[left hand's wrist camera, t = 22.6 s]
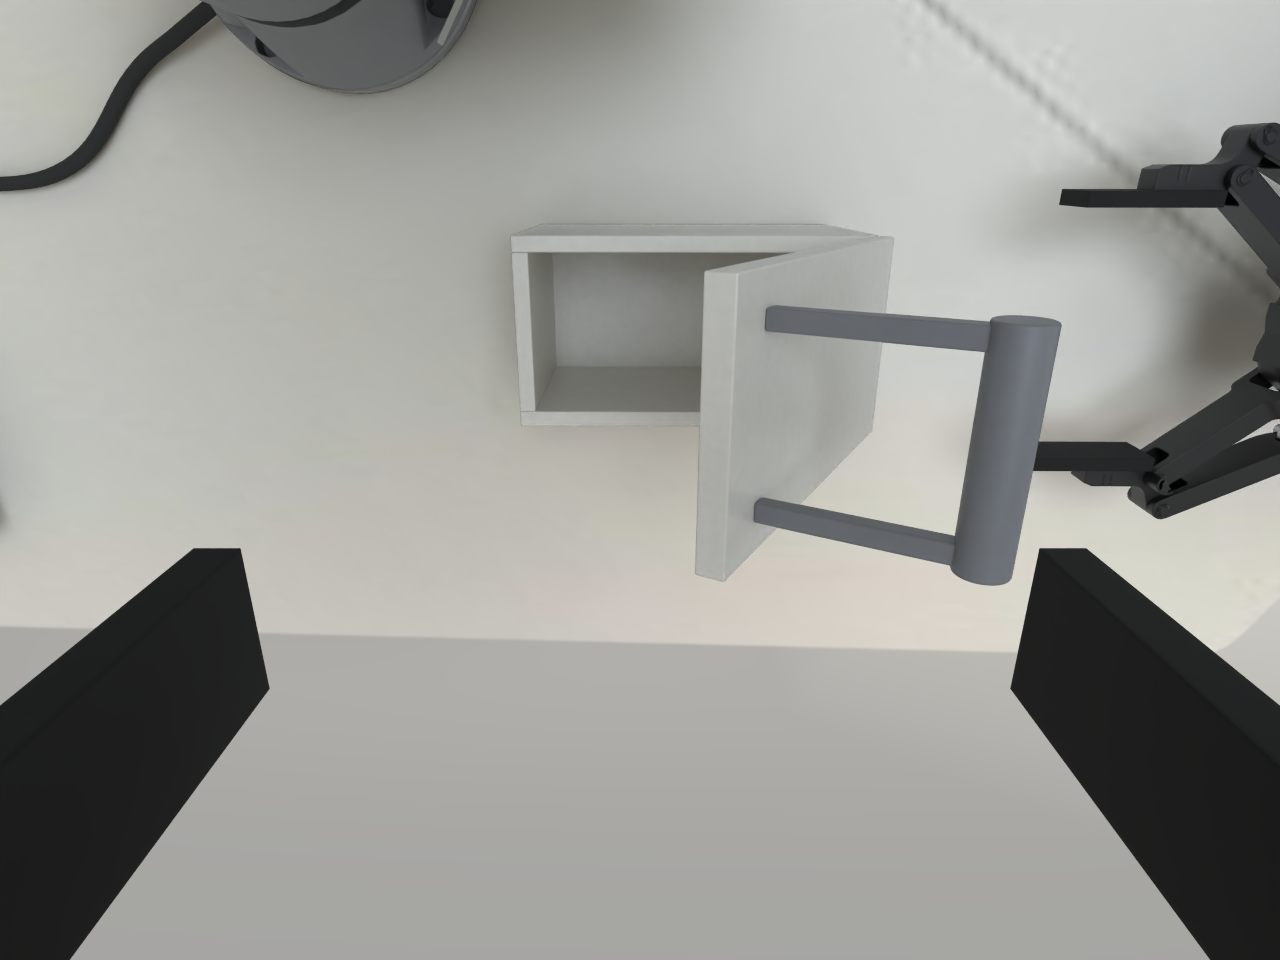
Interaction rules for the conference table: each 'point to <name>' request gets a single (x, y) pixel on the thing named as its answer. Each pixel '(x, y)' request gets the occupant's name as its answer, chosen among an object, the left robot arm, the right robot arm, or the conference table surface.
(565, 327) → the chest
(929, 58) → the conference table surface
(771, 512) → the lid
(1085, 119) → the conference table surface
